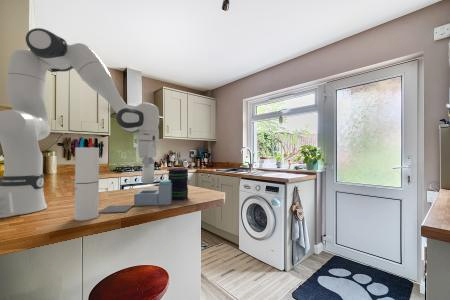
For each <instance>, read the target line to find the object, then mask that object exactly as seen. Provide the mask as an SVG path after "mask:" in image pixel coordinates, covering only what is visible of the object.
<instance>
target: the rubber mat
mask: <svg viewBox="0 0 450 300" xmlns="http://www.w3.org/2000/svg"><path fill="white" fill-rule="evenodd" d="M133 207H134V204H127V205H125V204H121V205H120V204H119V205H107V206H106V207H104V208H103V209H101V210H100V211H99V210H98V215H100V214H103V215H104V214H126V213H128V211H130V210H131V209H132V208H133Z"/></svg>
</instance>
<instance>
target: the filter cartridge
mask: <svg viewBox="0 0 450 300" xmlns="http://www.w3.org/2000/svg"><path fill="white" fill-rule="evenodd" d="M154 177H155V158H153V159H149V168H145V167H144V158H142V177H141V178H142V179H141V182H142V184H154V180H155V178H154Z"/></svg>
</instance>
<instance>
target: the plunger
mask: <svg viewBox="0 0 450 300" xmlns="http://www.w3.org/2000/svg"><path fill="white" fill-rule="evenodd" d="M170 183H171V180H169V179H167V180H165V179H163V180H160V181H159V184H162V185H163V184H170Z"/></svg>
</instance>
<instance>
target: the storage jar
mask: <svg viewBox="0 0 450 300" xmlns="http://www.w3.org/2000/svg"><path fill="white" fill-rule="evenodd" d="M168 180H171V183H172V201H173V202H175V201H176V202H178V201H186V200H188V198H189V197H188V195H189V187H188V180H189V169H188V168H169V169H168Z"/></svg>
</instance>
